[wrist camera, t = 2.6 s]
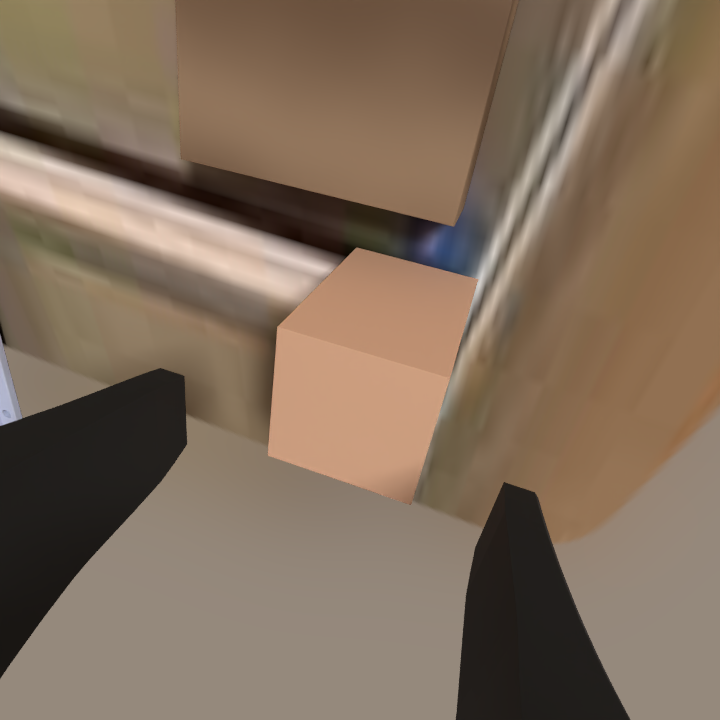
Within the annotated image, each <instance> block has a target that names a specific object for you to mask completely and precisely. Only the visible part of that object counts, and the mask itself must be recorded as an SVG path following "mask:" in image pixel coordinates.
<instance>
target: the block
mask: <svg viewBox="0 0 720 720" xmlns="http://www.w3.org/2000/svg"><path fill="white" fill-rule="evenodd" d="M477 282H478V279H475V278H471V277H467V276H463V275H459V274H456V273H452V272H448V271H444V270H440V269H437V268H433V267H429V266H425V265H421V264H417V263H414V262H410V261H406V260H402V259H398V258H395V257H391V256H387V255H383V254H379V253H376V252H372V251H368V250H364V249H360V248H356V249H355V250H354V251H353V252H352V253H351V254H350V255H349V256H348V257H347V258H346V259H345V260H344V261H343V262H342V263H341V264H340V265H339V266H338V267H337V268H336V269H335V270H334V271H333V272H332V273H331V274H330V275H329V276H328V277H327V278H326V279H325V280H324V281H323V282H322V283H321V284H320V285H319V286H318V287H317V288H316V289H315V290H314V291H313V292H312V293H311V294H310V295H309V296H308V297H307V298H306V299H305V300H304V301H303V302H302V303H301V304H300V305H299V306H298V307H297V308H296V309H295V310H294V311H293V312H292V313H291V314H290V315H289V316H288V317H287V318H286V319H285V320H284V321H283V322H282V323H281V324H280V325H279V326H278V327H277V340H276V354H275V367H274V380H273V393H272V406H271V420H270V433H269V446H268V456H271V457H273V458H276V459H279V460H282V461H285V462H288V463H291V464H294V465H297V466H299V467H302V468H305V469H308V470H311V471H314V472H317V473H320V474H323V475H326V476H328V477H331V478H334V479H337V480H340V481H343V482H346V483H349V484H351V485H354V486H357V487H360V488H363V489H366V490H369V491H372V492H375V493H378V494H380V495H383V496H386V497H389V498H392V499H395V500H398V501H401V502H403V503H406V504H409V505H411V503H412V500H413V497H414V494H415V490H416V487H417V484H418V481H419V477H420V474H421V471H422V468H423V464H424V461H425V458H426V454H427V451H428V448H429V445H430V441H431V438H432V435H433V432H434V428H435V425H436V422H437V419H438V415H439V412H440V409H441V406H442V402H443V399H444V396H445V393H446V389H447V386H448V383H449V380H450V376H451V373H452V369H453V366H454V362H455V359H456V355H457V352H458V348H459V345H460V341H461V338H462V334H463V331H464V327H465V324H466V320H467V317H468V313H469V310H470V306H471V303H472V299H473V296H474V292H475V289H476V285H477Z"/></svg>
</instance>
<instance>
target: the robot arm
mask: <svg viewBox="0 0 720 720" xmlns="http://www.w3.org/2000/svg"><path fill="white" fill-rule="evenodd" d="M186 445H187V432H186V406H185V382H184V376H183V375H180V374H177V373H174V372H171V371H167V370H164V369H161V368H160V369H157V370H153V371H150V372H148V373H145V374H142V375H139V376H136V377H134V378H131V379H129V380H126V381H123V382H121V383H118V384H115V385H113V386H110V387H108V388H106V389H103V390H100V391H97V392H95V393H92V394H89V395H87V396H84V397H81V398H79V399H76V400H74V401H71V402H68V403H66V404H63V405H60V406H57V407H55V408H52V409H49V410H46V411H43V412H40V413H37V414H34V415H31V416H28V417H25V418H22V414H21V411H20V407H19V403H18V400H17V395H16V392H15V388H14V384H13V380H12V377H11V373H10V369H9V365H8V362H7V358H6V354H5V350H4V346H3V343H2V339H1V335H0V678H1V677H2V675H3V674H4V672H5V671H6V669H7V667H8V666H9V665H10V663H11V662H12V661H13V659H14V658H15V656H16V655H17V654H18V652H19V651H20V649H21V648H22V647H23V645H24V644H25V643H26V641H27V640H28V638H29V637H30V636H31V634H32V633H33V631H34V630H35V629H36V627H37V626H38V624H39V623H40V622H41V620H42V619H43V618H44V616H45V615H46V614H47V612H48V611H49V610H50V608H51V607H52V606H53V605H54V603H55V602H56V601H57V599H58V598H59V597H60V595H61V594H62V593H63V591H64V590H65V589H66V587H67V586H68V585H69V584H70V582H71V581H72V580H73V578H74V577H75V576H76V575H77V574H78V572H79V571H80V570H81V569H82V567H83V566H84V565H85V564H86V563H87V562H88V561H89V559H90V558H91V557H92V556H93V555H94V554H95V553H96V551H98V550H99V549H100V547H101V546H102V545H103V544H104V543H105V542H106V541H107V540H108V539H109V537H111V536H112V535H113V533H114V532H115V531H116V530H117V529H118V528H119V527H120V526H121V525H122V524H123V523H124V522H125V520H126V519H127V518H128V517H129V516H130V515H131V514H132V513H133V512H134V511H135V510H136V509H137V507H138V506H139V505H140V504H141V503H142V502H143V501H144V500H145V499H146V497H147V496H148V495H149V494H150V493H151V492H152V491H153V490H154V489H155V487H156V486H157V485H158V484H159V483H160V482H161V481H162V479H163V478H164V476H165V475H166V474H167V472H168V471H169V470H170V468H171V467H172V466H173V464H174V463H175V461H176V460H177V458H178V457H179V455H180V454H181V452H182V451H183V449H184V448H185V446H186ZM456 720H630V718H629V716H628V714H627V713H626V711H625V709H624V707H623V705H622V703H621V701H620V699H619V697H618V695H617V694H616V692H615V690H614V688H613V686H612V684H611V682H610V680H609V678H608V676H607V674H606V672H605V670H604V668H603V666H602V664H601V661H600V659H599V657H598V655H597V653H596V651H595V649H594V646H593V644H592V642H591V640H590V638H589V635H588V633H587V631H586V629H585V626H584V624H583V622H582V620H581V617H580V615H579V613H578V610H577V608H576V605H575V603H574V600H573V598H572V595H571V593H570V590H569V588H568V585H567V583H566V580H565V577H564V575H563V572H562V570H561V567H560V565H559V562H558V559H557V556H556V553H555V550H554V547H553V544H552V542H551V539H550V536H549V533H548V529H547V526H546V523H545V520H544V517H543V513H542V510H541V507H540V503H539V500H538V497H537V495H536V494H535V492H532V491H529V490H526V489H523V488H520V487H517V486H514V485H511V484H508V483H505V482H504V483H503V486H502V488H501V490H500V493H499V495H498V497H497V499H496V502H495V504H494V506H493V508H492V511H491V513H490V515H489V518H488V520H487V522H486V524H485V527H484V529H483V531H482V534H481V536H480V538H479V540H478V543H477V545H476V547H475V552H474V557H473V562H472V567H471V572H470V577H469V583H468V588H467V593H466V602H465V614H464V627H463V638H462V651H461V664H460V678H459V690H458V703H457V714H456Z"/></svg>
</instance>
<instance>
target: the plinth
mask: <svg viewBox="0 0 720 720" xmlns="http://www.w3.org/2000/svg"><path fill="white" fill-rule="evenodd" d="M175 2H176V31H177V60H178V90H179V119H180V149H181V159H183V160H187V161H191V162H195V163H199V164H203V165H207V166H211V167H215V168H219V169H223V170H227V171H231V172H235V173H240V174H244V175H248V176H252V177H256V178H260V179H264V180H268V181H272V182H276V183H280V184H284V185H288V186H292V187H296V188H300V189H304V190H308V191H312V192H316V193H320V194H324V195H329V196H333V197H337V198H341V199H345V200H349V201H353V202H357V203H361V204H365V205H369V206H373V207H377V208H381V209H385V210H389V211H393V212H397V213H401V214H405V215H409V216H413V217H418V218H422V219H426V220H430V221H434V222H438V223H442V224H446V225H450V226H454V225H455V223H456V221H457V220H458V218H459V216H460V214H461V212H462V210H463V208H464V205H465V201H466V197H467V193H468V190H469V186H470V182H471V178H472V175H473V171H474V167H475V163H476V160H477V156H478V152H479V148H480V145H481V141H482V137H483V133H484V130H485V126H486V122H487V119H488V115H489V111H490V107H491V104H492V100H493V96H494V92H495V89H496V85H497V81H498V77H499V74H500V70H501V66H502V62H503V59H504V55H505V51H506V47H507V44H508V40H509V36H510V32H511V29H512V25H513V21H514V17H515V14H516V10H517V6H518V2H519V0H175Z"/></svg>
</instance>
